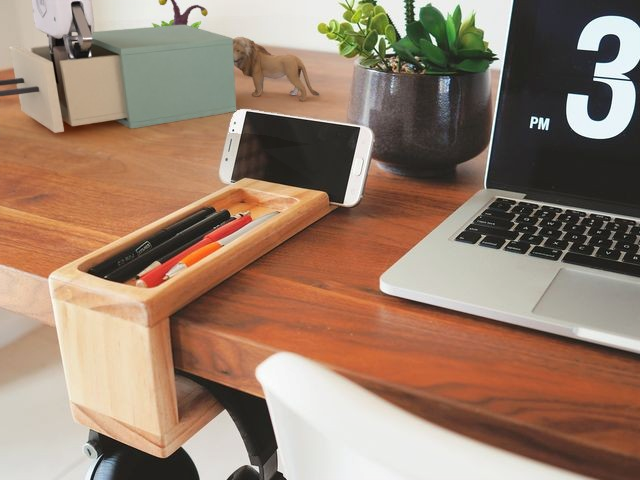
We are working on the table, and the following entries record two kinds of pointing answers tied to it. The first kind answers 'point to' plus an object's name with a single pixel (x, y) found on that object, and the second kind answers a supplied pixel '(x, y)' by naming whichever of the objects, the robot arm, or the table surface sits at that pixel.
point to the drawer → (68, 87)
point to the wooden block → (59, 56)
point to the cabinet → (172, 73)
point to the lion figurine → (269, 66)
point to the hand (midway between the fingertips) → (74, 85)
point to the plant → (181, 18)
